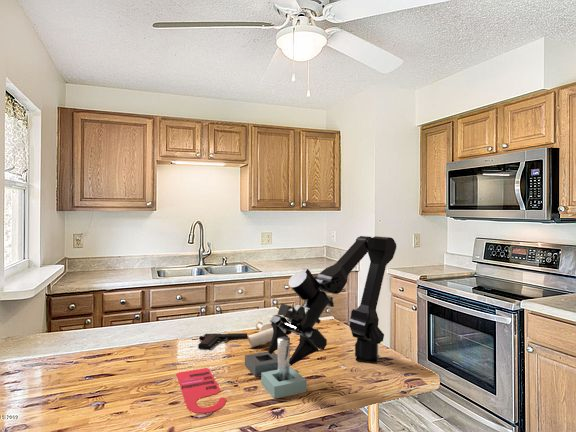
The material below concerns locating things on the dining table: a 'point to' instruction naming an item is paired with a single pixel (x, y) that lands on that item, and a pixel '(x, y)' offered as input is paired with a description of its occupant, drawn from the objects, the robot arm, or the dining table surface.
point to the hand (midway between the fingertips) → (279, 358)
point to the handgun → (218, 339)
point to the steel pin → (283, 358)
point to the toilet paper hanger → (261, 334)
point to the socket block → (261, 362)
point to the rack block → (283, 383)
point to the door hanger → (199, 389)
